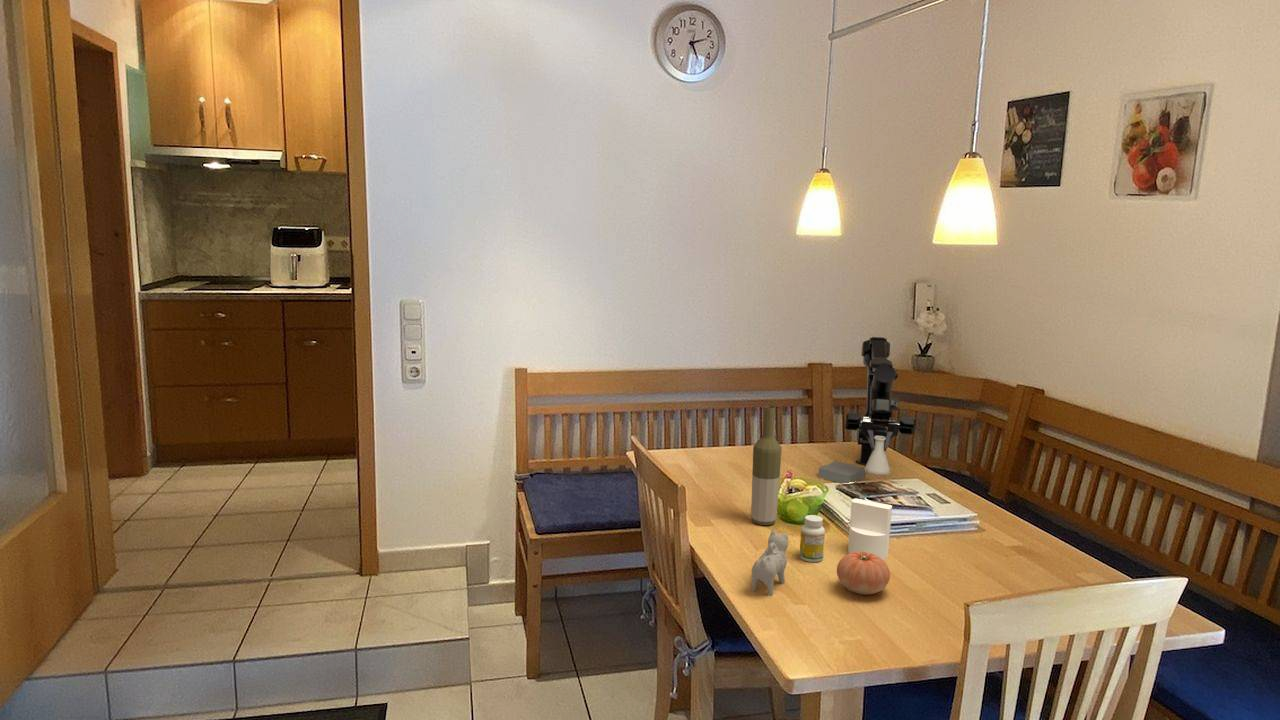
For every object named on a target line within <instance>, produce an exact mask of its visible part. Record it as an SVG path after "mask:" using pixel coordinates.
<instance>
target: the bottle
mask: <svg viewBox="0 0 1280 720" xmlns="http://www.w3.org/2000/svg"><path fill="white" fill-rule="evenodd" d="M775 415H776V406H774V405H765V406H764V407H763V428H762V429H763V430H762V437H760V438H759V439H758V440H757V441H756V443H755V444H754V445H753V448H752V470H751V471H752V473H751V474H752V475H751V476H752V477H751V479H752V480H751V503H750V504H751V510H750V511H751V512H750V513H751V514H750V517H751V518H750V519H751V521H752V522H753V523H754V524H757V525H760V526H771V525H774V524H775V523H776V521H777V513H778V501H779V488H780V476H781V464H782V463H781V462H782V446H781V444H780V443H779V442H778V441H777V439H776V438H775V436H774V432H775Z"/></svg>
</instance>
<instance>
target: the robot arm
mask: <svg viewBox="0 0 1280 720" xmlns="http://www.w3.org/2000/svg"><path fill="white" fill-rule="evenodd" d="M890 349H891V342H888V341H887V338H885V337H881V336H880V337H879V336H871V337H869V339H868V340H865V341H862V345H861V357H863V360H862V361H863V362H862V363H863V365H864V366H865V368H866V379H867V383H866V386H867V387H866V409H865V410H866V413H865V414H864V415H863V416H862V414H861V412H852V411H848V412H847V413H845V423H844V425H845V426H844V429H846V430H847V431H857V436H856V441H857V442H856V443H857V445H859V446H861V447H860V458H859V459H857V460H855V463H857V464H862V465H865V466H866V464H867V462H868V460H869V458H870V456H871V453H872V451H873V450H874V444H875V439H874V436H884V437H886V440H885V443H884V451H885V452H886V451H887V449H888V447H889V445H890V443H891V441H892V440H893V437H897V436H898V434H899V433H900V435H911V436H912V435H914V434H915V429H916V424H917V423H916V420H917V419H916V418H915V417H914V416H906V415H905V416H903V415H901V416H900V419H899V420H895V419H892V416H893V411H896V412H897V411H898V410H899V398H898V397H897V398H896V397H895V398H894V397H892V390H893V387H894V382H895V381H896V379H898V378H899V374H898V372H897V370H896V368H895V367H893V365H894V364H893V362H892V361H891V360H890V359H888V358H889V357H890V354H891V350H890Z"/></svg>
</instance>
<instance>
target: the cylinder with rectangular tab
mask: <svg viewBox="0 0 1280 720" xmlns="http://www.w3.org/2000/svg"><path fill="white" fill-rule="evenodd" d="M892 511H893V505H891V504H886V503H882V502H878V501H872V500H866V499H861V498H856V497H855V498H853V499H852V500H851V504H850V517H849V519H850V520H849V529H848V530H849V533H848V543H847V545H848V546H847V552H848V554H849V553H852V552H867V553H871V554H874V555H876V556H878V557H880V558H881V559H882V560H886V559H887V558H888V556H889V548H890V547H889V546H890V535H891V521H892Z"/></svg>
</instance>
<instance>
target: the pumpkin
mask: <svg viewBox="0 0 1280 720" xmlns="http://www.w3.org/2000/svg"><path fill="white" fill-rule="evenodd" d="M836 576H837V579H838V581H839V582H840V583H841V584H842V586H843V587H845V588H846V589H847V590H849V591H850V592H853V593H856V594H859V595H874V594H877V593H879V592H881V591H883V590H884V589H885V588H886V587H887V585H888V584H889V582H890V578H891V573H890V569H889V566H888V564H887V563H886V561H885V559H883V560H882V559H881V558H880V557H878V556H876V555H874V554H871V553H867V552H852V553H849V552H848V553H846V554H845V555H843V557H842V558H841V559H840V560H839V561H838V563H837V565H836Z"/></svg>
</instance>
